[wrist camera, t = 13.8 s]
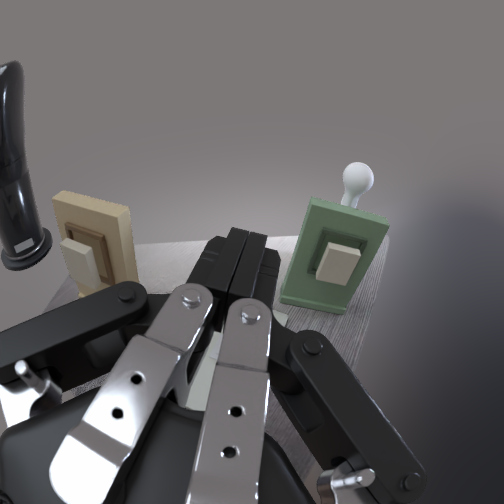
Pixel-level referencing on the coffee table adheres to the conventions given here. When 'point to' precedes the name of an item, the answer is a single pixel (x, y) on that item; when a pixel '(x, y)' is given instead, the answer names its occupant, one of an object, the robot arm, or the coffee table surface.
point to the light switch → (212, 370)
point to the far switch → (337, 264)
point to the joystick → (356, 183)
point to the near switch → (80, 263)
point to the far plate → (314, 245)
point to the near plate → (99, 236)
